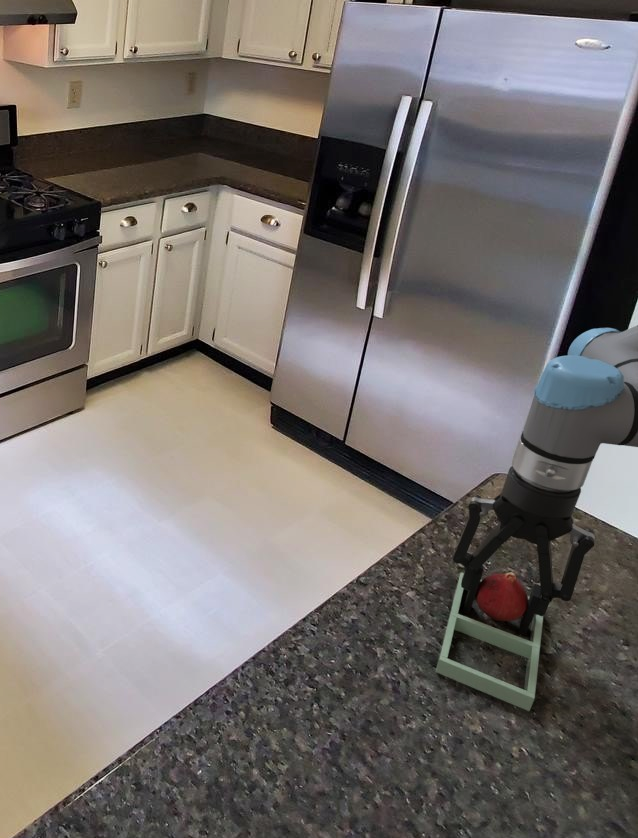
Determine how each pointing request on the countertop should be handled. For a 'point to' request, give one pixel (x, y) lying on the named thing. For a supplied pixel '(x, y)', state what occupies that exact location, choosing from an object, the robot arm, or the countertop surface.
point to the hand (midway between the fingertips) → (494, 617)
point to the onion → (502, 597)
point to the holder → (500, 640)
